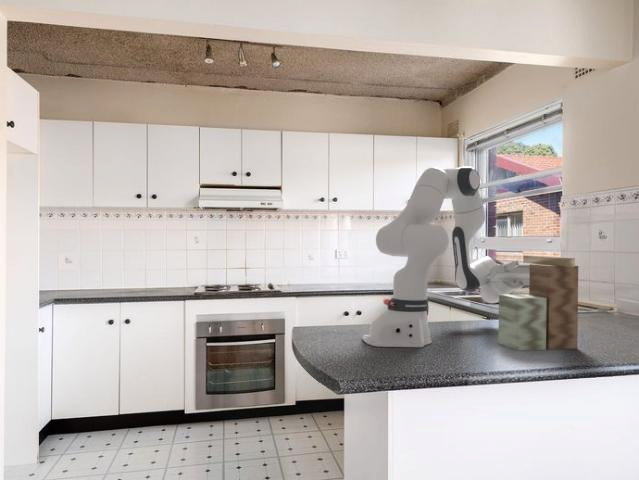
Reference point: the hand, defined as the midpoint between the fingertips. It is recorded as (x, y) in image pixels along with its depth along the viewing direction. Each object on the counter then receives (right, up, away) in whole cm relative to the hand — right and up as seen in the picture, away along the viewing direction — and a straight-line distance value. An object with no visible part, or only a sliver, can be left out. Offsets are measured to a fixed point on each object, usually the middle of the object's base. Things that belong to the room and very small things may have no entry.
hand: (528, 262), depth 159 cm
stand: (-4, -26, -13) cm, 30 cm away
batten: (+2, 0, -9) cm, 10 cm away
